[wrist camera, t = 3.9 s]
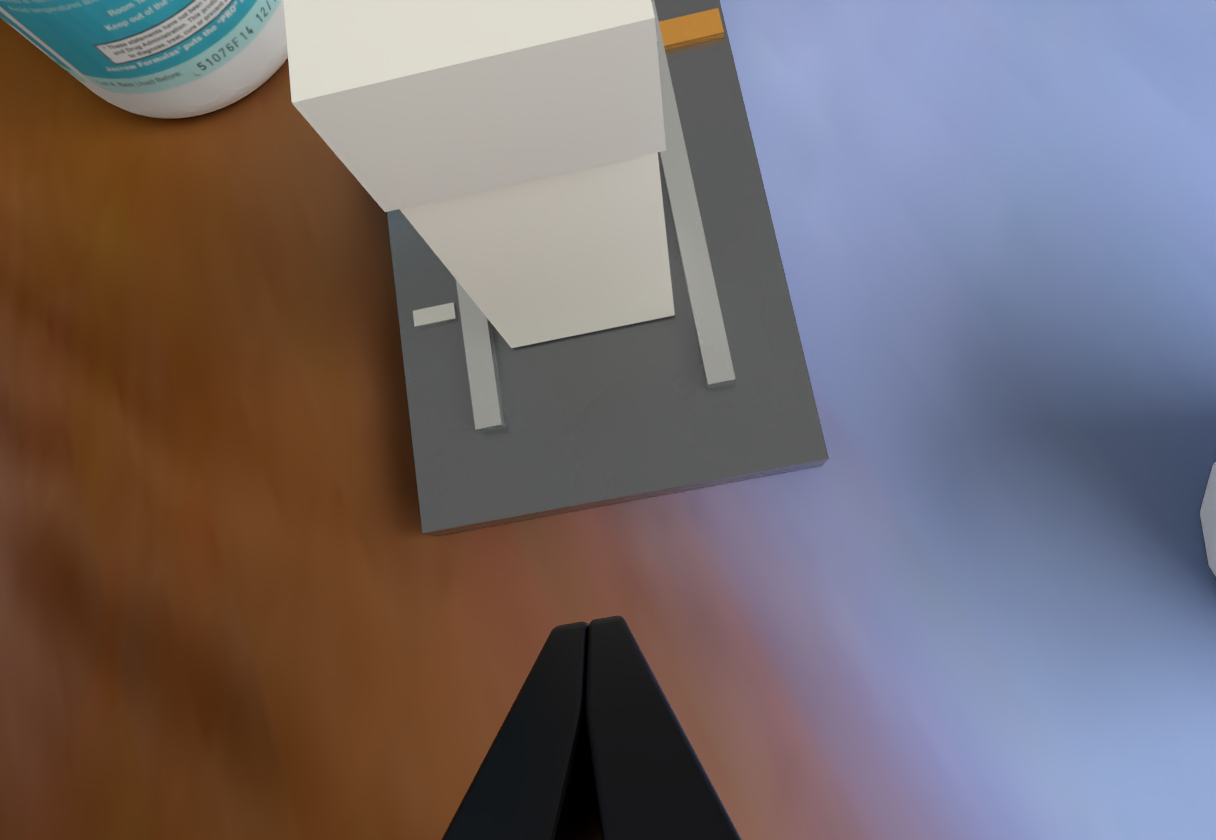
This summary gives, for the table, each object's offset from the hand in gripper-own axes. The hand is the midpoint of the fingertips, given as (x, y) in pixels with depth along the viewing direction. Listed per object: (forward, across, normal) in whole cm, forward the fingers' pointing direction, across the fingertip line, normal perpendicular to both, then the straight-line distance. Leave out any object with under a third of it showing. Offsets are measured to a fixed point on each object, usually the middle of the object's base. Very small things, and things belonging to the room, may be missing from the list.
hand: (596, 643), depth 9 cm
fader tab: (+10, 0, 0) cm, 10 cm away
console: (+12, 0, -1) cm, 13 cm away
